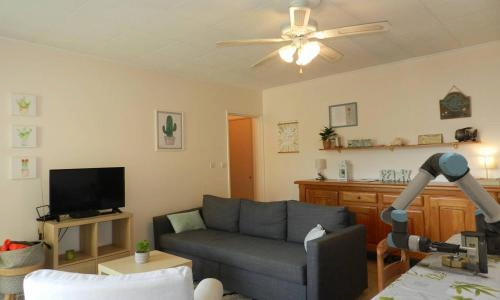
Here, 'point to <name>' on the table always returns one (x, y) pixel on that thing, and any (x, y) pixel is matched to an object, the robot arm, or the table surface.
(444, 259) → the tan ring with handle
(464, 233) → the coffee can
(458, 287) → the table surface
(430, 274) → the table surface
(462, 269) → the flange plate
